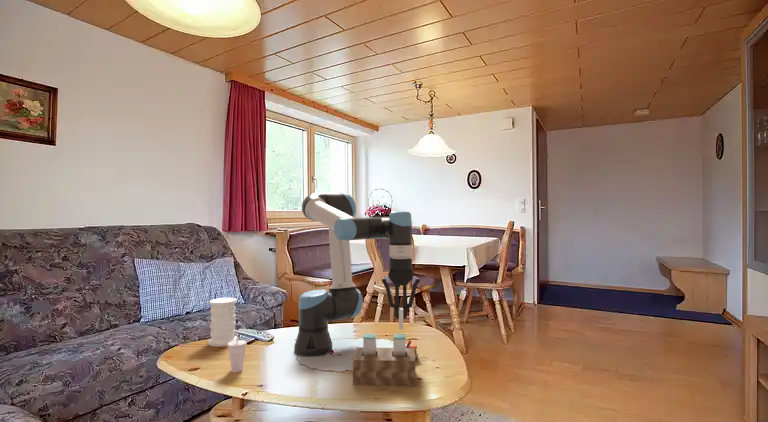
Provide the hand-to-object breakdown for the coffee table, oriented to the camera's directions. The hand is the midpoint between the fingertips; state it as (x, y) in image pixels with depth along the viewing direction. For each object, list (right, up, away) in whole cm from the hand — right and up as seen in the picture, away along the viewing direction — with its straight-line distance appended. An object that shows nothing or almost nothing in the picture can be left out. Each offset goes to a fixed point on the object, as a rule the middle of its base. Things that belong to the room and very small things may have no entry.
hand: (401, 328), depth 131 cm
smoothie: (-57, -17, +7) cm, 60 cm away
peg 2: (-1, -11, 0) cm, 11 cm away
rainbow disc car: (+2, -17, +17) cm, 25 cm away
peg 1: (-10, -11, 0) cm, 15 cm away
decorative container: (-75, -18, +38) cm, 86 cm away
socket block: (-5, -17, 0) cm, 18 cm away
